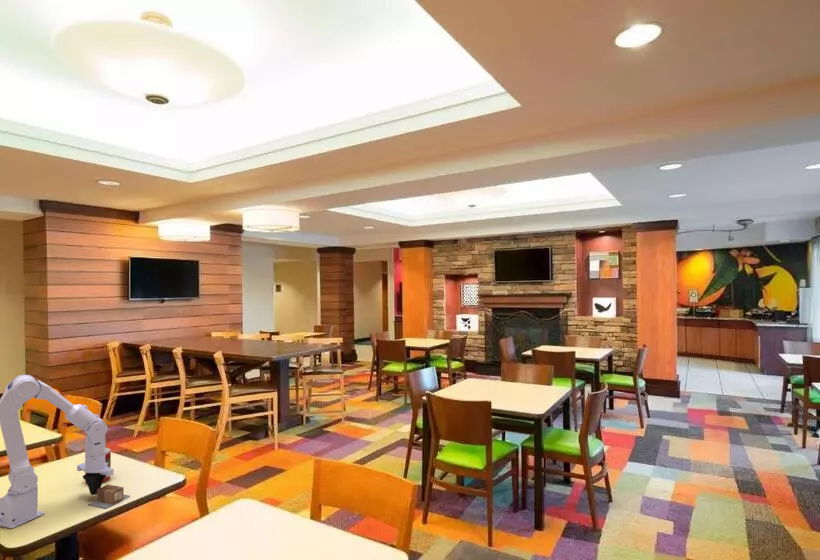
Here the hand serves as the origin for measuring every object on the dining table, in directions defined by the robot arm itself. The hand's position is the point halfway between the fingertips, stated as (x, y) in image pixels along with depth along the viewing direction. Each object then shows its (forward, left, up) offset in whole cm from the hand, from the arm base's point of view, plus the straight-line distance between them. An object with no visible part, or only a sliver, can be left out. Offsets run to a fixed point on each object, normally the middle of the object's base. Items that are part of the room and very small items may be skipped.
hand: (95, 493), depth 157 cm
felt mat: (0, -7, -1) cm, 7 cm away
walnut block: (0, -3, +1) cm, 4 cm away
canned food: (+10, +11, -2) cm, 15 cm away
